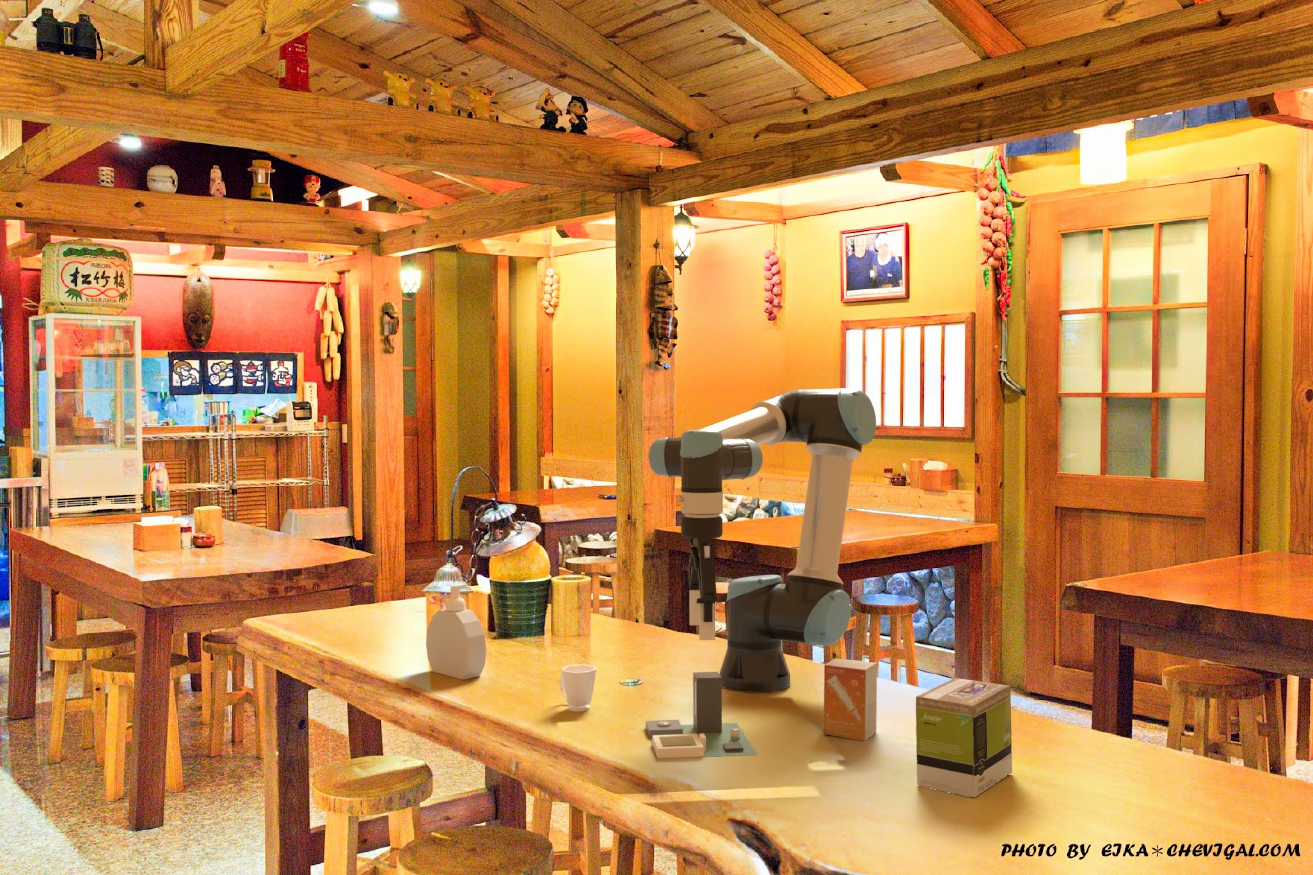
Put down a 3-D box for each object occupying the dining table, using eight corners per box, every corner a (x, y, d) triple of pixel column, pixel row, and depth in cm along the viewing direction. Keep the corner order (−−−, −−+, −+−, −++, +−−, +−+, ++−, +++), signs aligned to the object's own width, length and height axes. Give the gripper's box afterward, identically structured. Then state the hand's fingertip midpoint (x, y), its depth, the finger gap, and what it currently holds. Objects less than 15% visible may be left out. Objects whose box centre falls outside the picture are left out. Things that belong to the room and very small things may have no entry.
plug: (717, 725, 211) (717, 671, 210) (721, 732, 206) (721, 677, 206) (693, 726, 210) (692, 672, 210) (696, 733, 206) (696, 678, 205)
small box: (823, 735, 209) (823, 664, 208) (835, 726, 214) (835, 657, 214) (865, 741, 205) (866, 669, 204) (877, 732, 210) (877, 662, 210)
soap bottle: (488, 677, 253) (487, 587, 252) (469, 682, 249) (468, 590, 248) (445, 666, 264) (444, 580, 263) (425, 670, 260) (424, 582, 259)
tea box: (955, 762, 193) (955, 675, 192) (1013, 775, 186) (1014, 684, 186) (914, 786, 181) (914, 693, 181) (974, 800, 175) (975, 704, 174)
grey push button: (678, 733, 210) (678, 718, 210) (685, 748, 201) (685, 733, 201) (645, 734, 210) (645, 719, 209) (651, 750, 200) (651, 734, 200)
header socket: (701, 742, 200) (701, 728, 200) (708, 756, 193) (708, 742, 193) (652, 744, 199) (652, 730, 199) (657, 758, 192) (657, 744, 192)
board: (736, 729, 212) (736, 714, 212) (757, 761, 194) (757, 745, 193) (645, 732, 211) (645, 717, 210) (657, 765, 192) (657, 749, 192)
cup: (573, 715, 222) (572, 674, 222) (546, 704, 230) (546, 664, 230) (603, 709, 227) (603, 669, 226) (576, 699, 235) (576, 659, 234)
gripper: (673, 509, 219) (673, 619, 220) (689, 522, 195) (689, 647, 195) (712, 508, 220) (712, 618, 221) (733, 522, 195) (733, 646, 196)
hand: (701, 632), depth 208 cm, fingers open, 13 cm apart
